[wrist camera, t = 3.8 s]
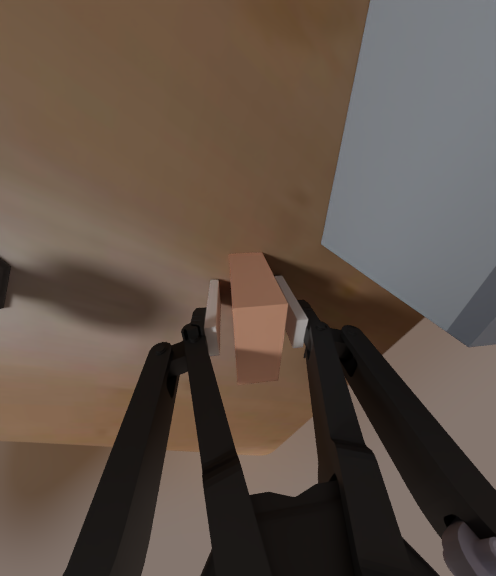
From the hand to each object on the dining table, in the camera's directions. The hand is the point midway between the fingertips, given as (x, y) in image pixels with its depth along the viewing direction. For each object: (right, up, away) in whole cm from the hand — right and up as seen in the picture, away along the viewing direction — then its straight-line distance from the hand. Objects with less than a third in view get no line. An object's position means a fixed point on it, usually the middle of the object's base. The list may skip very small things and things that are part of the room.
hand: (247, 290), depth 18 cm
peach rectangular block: (0, 0, 0) cm, 0 cm away
